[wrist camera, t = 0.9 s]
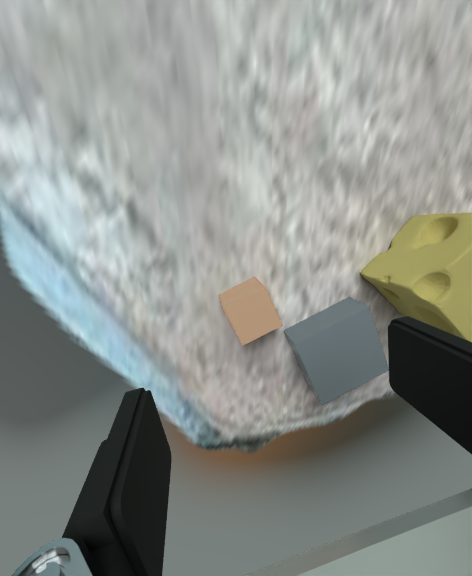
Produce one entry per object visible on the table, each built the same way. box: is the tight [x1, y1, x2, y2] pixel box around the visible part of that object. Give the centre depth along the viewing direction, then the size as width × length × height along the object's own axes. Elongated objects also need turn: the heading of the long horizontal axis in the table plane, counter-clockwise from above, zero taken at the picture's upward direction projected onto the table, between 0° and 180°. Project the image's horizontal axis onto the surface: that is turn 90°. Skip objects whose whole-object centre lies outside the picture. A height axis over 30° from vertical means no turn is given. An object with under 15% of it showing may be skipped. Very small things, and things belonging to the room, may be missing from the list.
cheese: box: [360, 213, 472, 342], centre depth 29 cm, size 10×11×10 cm
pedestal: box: [284, 297, 389, 405], centre depth 33 cm, size 10×10×4 cm
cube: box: [219, 277, 283, 346], centre depth 29 cm, size 5×5×5 cm
